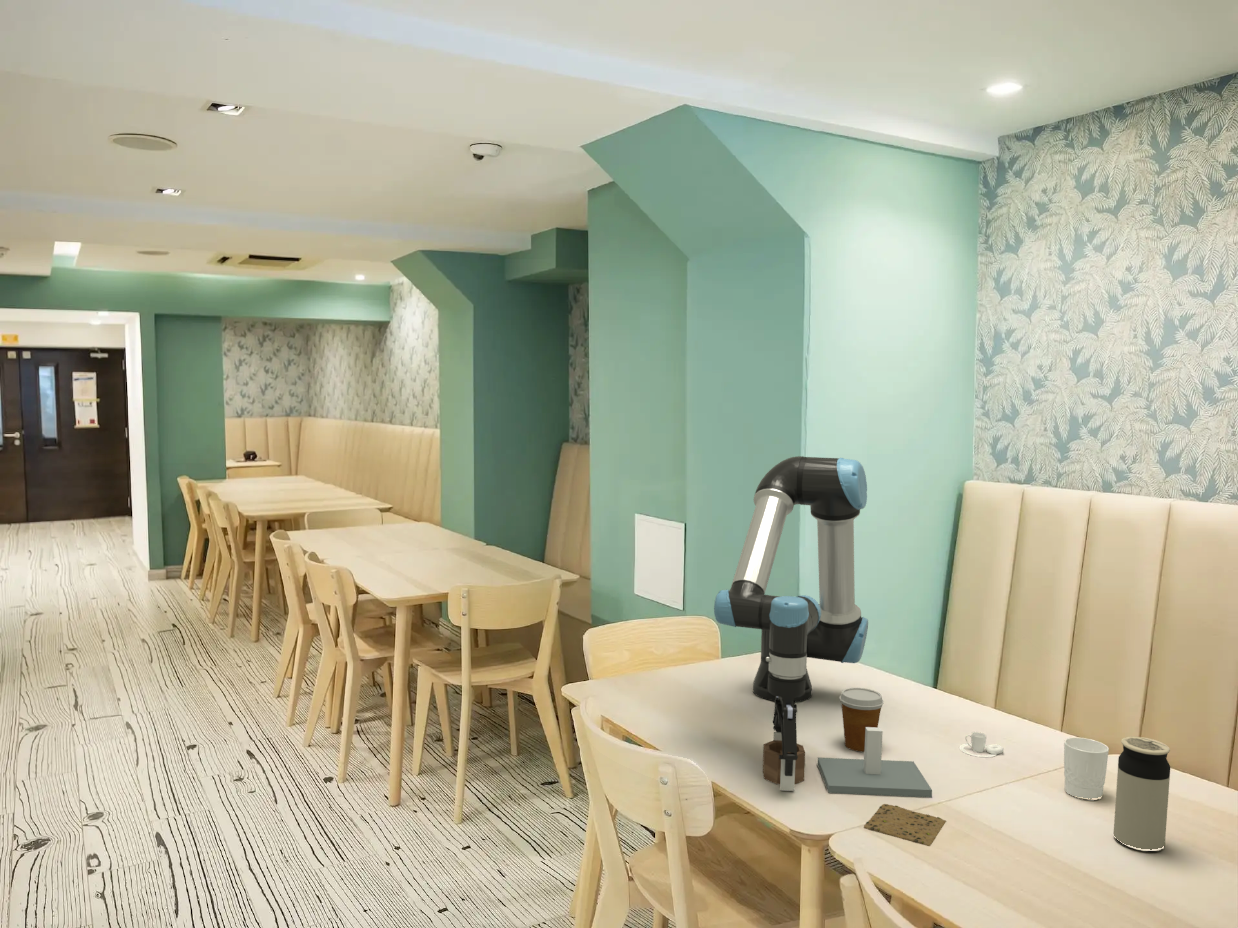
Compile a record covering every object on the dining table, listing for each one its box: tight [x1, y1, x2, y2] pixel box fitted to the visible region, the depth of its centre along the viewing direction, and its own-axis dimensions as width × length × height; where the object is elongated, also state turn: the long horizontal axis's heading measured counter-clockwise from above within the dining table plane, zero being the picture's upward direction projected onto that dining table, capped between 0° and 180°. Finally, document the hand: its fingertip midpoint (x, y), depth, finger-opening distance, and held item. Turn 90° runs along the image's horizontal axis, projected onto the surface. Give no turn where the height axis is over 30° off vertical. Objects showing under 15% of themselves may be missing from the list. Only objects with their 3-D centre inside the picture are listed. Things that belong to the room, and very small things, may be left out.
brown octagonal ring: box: [762, 740, 806, 785], centre depth 190 cm, size 8×8×6 cm
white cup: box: [1063, 736, 1110, 799], centre depth 184 cm, size 8×8×10 cm
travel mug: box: [1113, 736, 1171, 850], centre depth 164 cm, size 8×8×18 cm
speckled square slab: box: [863, 803, 947, 847], centre depth 170 cm, size 12×12×1 cm
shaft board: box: [816, 727, 933, 798], centre depth 189 cm, size 14×20×10 cm
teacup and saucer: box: [958, 731, 1005, 758], centre depth 206 cm, size 9×8×4 cm
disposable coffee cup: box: [839, 687, 885, 753], centre depth 206 cm, size 10×10×12 cm
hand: (783, 775), depth 190 cm, fingers open, 13 cm apart
